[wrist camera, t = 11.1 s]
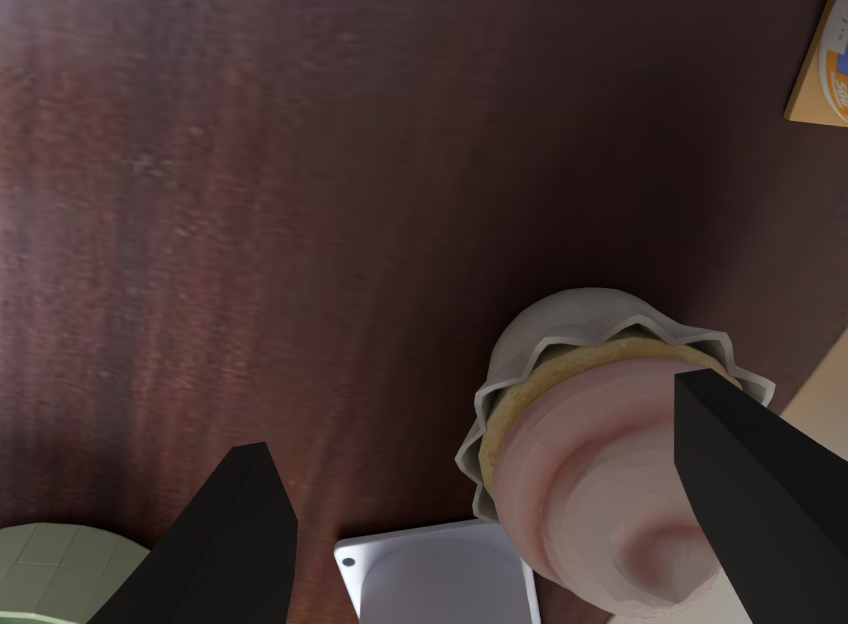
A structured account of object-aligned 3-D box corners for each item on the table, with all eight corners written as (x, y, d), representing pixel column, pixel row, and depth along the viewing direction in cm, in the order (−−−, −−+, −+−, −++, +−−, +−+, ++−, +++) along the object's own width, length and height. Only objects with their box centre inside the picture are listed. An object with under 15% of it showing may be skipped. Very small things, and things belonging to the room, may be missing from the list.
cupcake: (737, 234, 21) (968, 448, 12) (684, 454, 26) (824, 719, 17) (445, 241, 21) (474, 462, 12) (445, 461, 26) (466, 732, 17)
